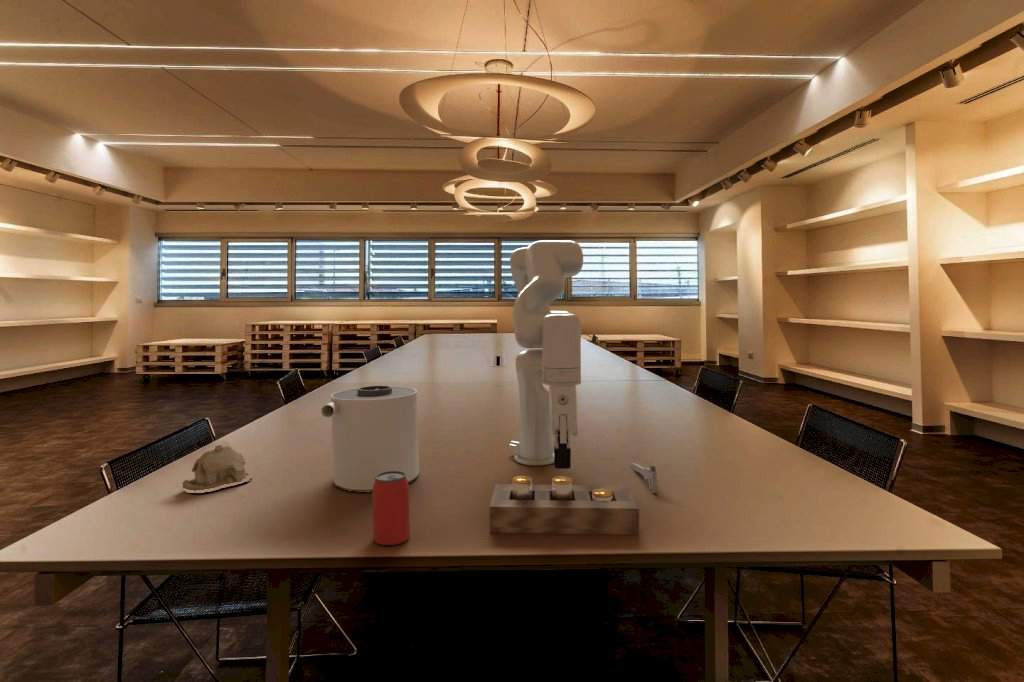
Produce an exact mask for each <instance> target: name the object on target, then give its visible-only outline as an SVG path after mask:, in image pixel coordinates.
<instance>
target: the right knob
mask: <svg viewBox="0 0 1024 682" xmlns="http://www.w3.org/2000/svg"><path fill="white" fill-rule="evenodd" d="M592 501H612V491H610V490H607V489H595V490H593V491H592Z"/></svg>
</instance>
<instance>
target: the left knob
mask: <svg viewBox="0 0 1024 682" xmlns="http://www.w3.org/2000/svg"><path fill="white" fill-rule="evenodd" d="M511 483H512V490H513V500H532V485H533V477H531V476H528V475H517V476H514V477H512V482H511Z"/></svg>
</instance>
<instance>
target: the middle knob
mask: <svg viewBox="0 0 1024 682" xmlns="http://www.w3.org/2000/svg"><path fill="white" fill-rule="evenodd" d="M551 485H552V500H568V501H572V485H573V479H572V477H569V476H565V475H557V476H554V477H552V479H551Z"/></svg>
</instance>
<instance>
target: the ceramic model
mask: <svg viewBox="0 0 1024 682" xmlns="http://www.w3.org/2000/svg"><path fill="white" fill-rule="evenodd" d="M246 464H247V463H246V460H245V458H244V456H243V455H242V454H241V453H239V452H238V451H236V450H235V449H234V448H232V446H230V445H227V446H223V445H221V444H219V445H215V447H214V449H211V450H208V451H206V452H203V454H202V455H201V456H200V457H199V458H197V459H196V460H195V462H194V464H193V466H192V468H191V472H192V473H193V472H194V478H193V479H190V480H189V479H184V480H183V481H182V489H184V488H185V489H188V490H194V491H196V490H204V489H210V488H215V487H218V486H221V485H224V484H230V483H234V482H241V481H242V479H245V478H246V477H247V475H250V474H249V473H247V472H246V467H245V465H246Z"/></svg>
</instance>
